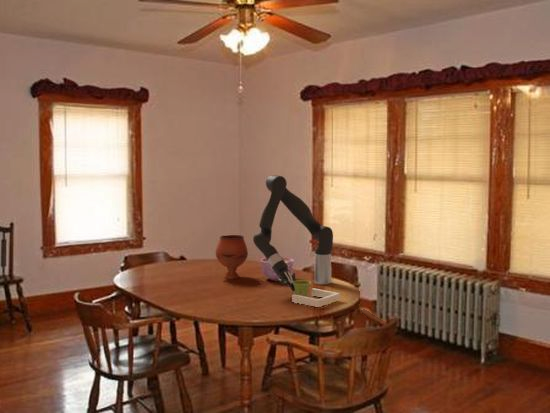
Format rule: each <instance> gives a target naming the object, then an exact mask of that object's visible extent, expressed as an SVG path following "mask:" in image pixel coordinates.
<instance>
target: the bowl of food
mask: <svg viewBox="0 0 550 413" xmlns="http://www.w3.org/2000/svg"><path fill="white" fill-rule="evenodd" d="M281 257H282V258H283V260H284V261H285V263H286V264H287V266H288V270H289V271H290V272H291V273H292V270H293V266H294V261H295V260H294V259H293V258H291V257H284V256H281ZM260 265H261V269H262V273H263V274H264V276H265V277H266V278H267V279H269V280H271V281H275V282H277V281H278V280H277V279H278V278H279V276H278V275H277V274H276V273H275V272H274V270H273V269H272V267H271V266H270V264H269V262H268V260H267V259H266V257H264V258H260ZM278 282H279V281H278Z"/></svg>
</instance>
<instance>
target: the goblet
mask: <svg viewBox="0 0 550 413" xmlns="http://www.w3.org/2000/svg"><path fill="white" fill-rule="evenodd" d="M244 238H245V236H244V235H242V234H240V235H239V234H227V235H221V236H219V240H218V243H217V246H216V249H215V256H216V260H217V261H218V262H219V263H220V264H221V266H224V267H226V268H227V272H226V273H225V274H224V278H225V279H231V280H232V279H238V278H239V277H240V275H239V274H238V273H237V269H238V268H239V267H241V266H242V265H243V264H244V263H245V261H247V258H248V254H249V252H248V251H249V250H248V248H247V244H246V242H245V239H244Z"/></svg>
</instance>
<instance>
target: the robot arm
mask: <svg viewBox="0 0 550 413" xmlns="http://www.w3.org/2000/svg"><path fill="white" fill-rule="evenodd" d="M287 182H288V181H287V180H286V178H285V177H284V176H282V175H270V176H268V177H267V178H266V179H265V186H266V188H267V190H268V191H269V192H270V197H269V199H268V202H267V204H266V205H265V207H264V209H263V211H262V213H261V217H260V222H259V228H260V232H257V233H255V234H254V235H253V237H252V239H253V243H254V245H255V246H256V248H257V249H258V250H259V251H260V252H261V253H262V254H263V256H264V258H266V259H267V260H268V262H269V264H270V266H271V267H272V269H273V270H274V272H275V273H276V274H277V275H278V276H279V278H278V279H277V280H278V282H279V283H281V284H282V285H284V286H288V287H289V288H290V290H291V291H292V292H295V288H294V284H293V282H294V281H296V273H295V272H293V273H292V271H291V272H290V271H289V270H288V266H287V264H286V263H285V261H284V260H283V258H282V257H283V256H282V255H280V253H279V252H278V250H277V249H276V247H275V246H273V245H272V244H271V240H272V228H273V224H274V220H275V216H276V213H277V210H278V207H279V205H280V202H281V203H282V204H283V205H284V206H285V208H286V209H288V210H289V212H290V213H291V214H292V216H293V217H295V218H296V219H297V220H298V221H299V222H300V223H301V224H302V225H303V226H304V227H305V228H306V229H307V231H308V232H309V233H310V235H311V236H312V237H313V238H314V239H315V241H317V242H318V245H317V247H315V249H314V284H316V285H330V284H331V283H332V264H331V262H332V261H331V260H332V249H333V245H334V244H333V243H334V232H333V230H332V228H331V227H329V226H326V225H323V224H321V223H319V221H317V219H316V218H315V217H314V216H313V213H312V211H311V209H310V207H309V206H308V205H307V203H305V202H304V201H303V199H302V198H300V197H298V196H297V195H296V194H294V193H292V191H290V190H289V189H288V188H287V184H288V183H287ZM329 283H330V284H329Z"/></svg>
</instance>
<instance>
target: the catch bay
mask: <svg viewBox="0 0 550 413" xmlns="http://www.w3.org/2000/svg"><path fill="white" fill-rule="evenodd" d="M313 296H317V297H313ZM318 297H323V298H318ZM339 299H340V292H335V291H330V290H325V289H319V288H314V287H313V288H311V297H309V296H308V297H305V296H300V295H296V294H295V293H294V294H292V295H291V303H292V302H294V304H297V303H299V304H298V305H301V304H305V305H304V306H306V305H310V306H315V307H321V306H323V305H326V304H328V303H331V302H333V301H336V300H339ZM310 306H309V307H310ZM321 308H322V307H321Z"/></svg>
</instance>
